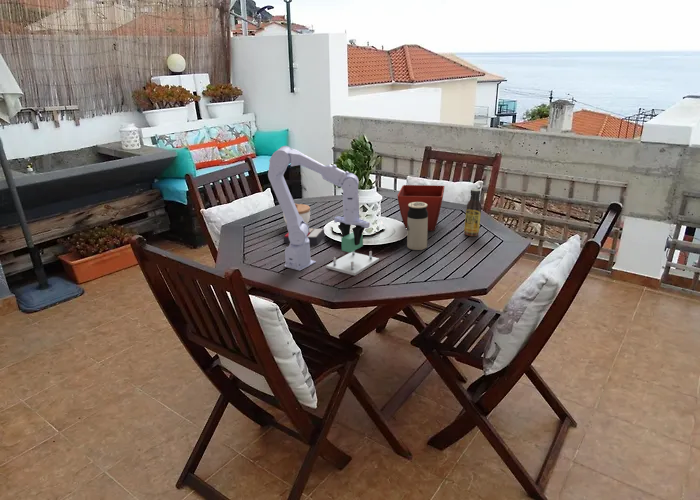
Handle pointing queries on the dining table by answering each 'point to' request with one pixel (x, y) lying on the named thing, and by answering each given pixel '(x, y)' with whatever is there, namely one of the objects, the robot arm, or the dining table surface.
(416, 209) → the travel mug
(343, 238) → the green block
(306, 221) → the lidded bowl
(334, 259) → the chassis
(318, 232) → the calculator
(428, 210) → the plant pot
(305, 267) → the robot arm
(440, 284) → the dining table surface
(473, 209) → the sauce bottle
